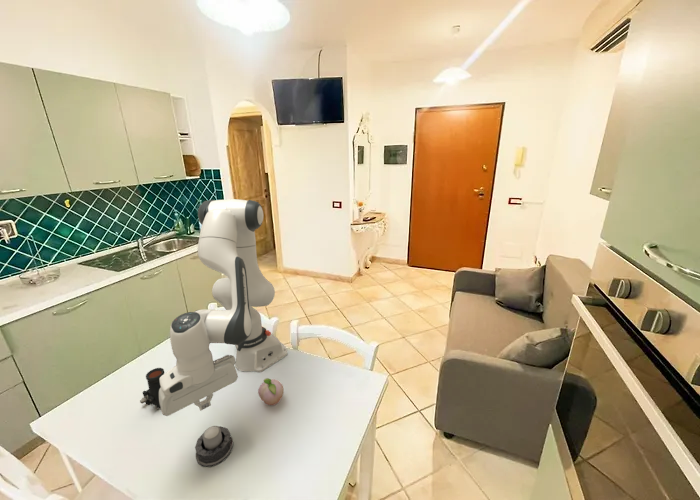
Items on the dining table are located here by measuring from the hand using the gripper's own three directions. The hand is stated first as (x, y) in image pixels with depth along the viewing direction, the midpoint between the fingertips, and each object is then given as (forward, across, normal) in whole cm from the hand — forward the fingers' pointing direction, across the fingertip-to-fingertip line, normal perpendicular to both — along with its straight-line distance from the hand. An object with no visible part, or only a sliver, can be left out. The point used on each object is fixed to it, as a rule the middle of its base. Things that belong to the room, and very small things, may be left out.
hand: (205, 406), depth 87 cm
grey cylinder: (+15, 0, +2) cm, 15 cm away
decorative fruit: (+17, -22, -3) cm, 28 cm away
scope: (+16, +9, -30) cm, 36 cm away
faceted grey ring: (+16, 0, +2) cm, 16 cm away
